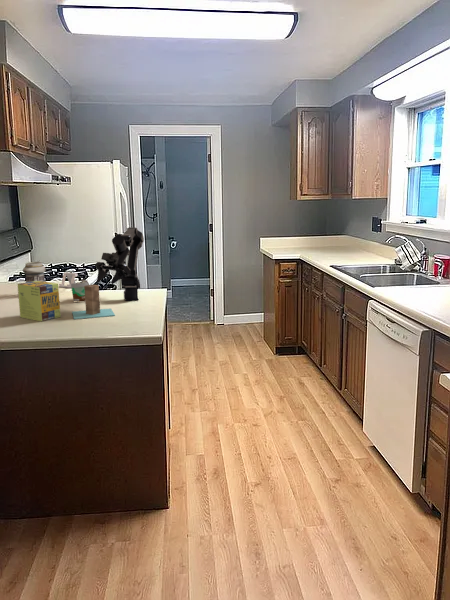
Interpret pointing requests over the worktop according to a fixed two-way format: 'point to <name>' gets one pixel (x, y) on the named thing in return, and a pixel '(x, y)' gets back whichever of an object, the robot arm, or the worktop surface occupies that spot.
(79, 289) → the food container
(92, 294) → the walnut block
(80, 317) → the teal mat
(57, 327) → the worktop surface
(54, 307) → the protein box
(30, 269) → the apothecary jar
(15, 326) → the worktop surface
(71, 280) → the portable electronic device stand
